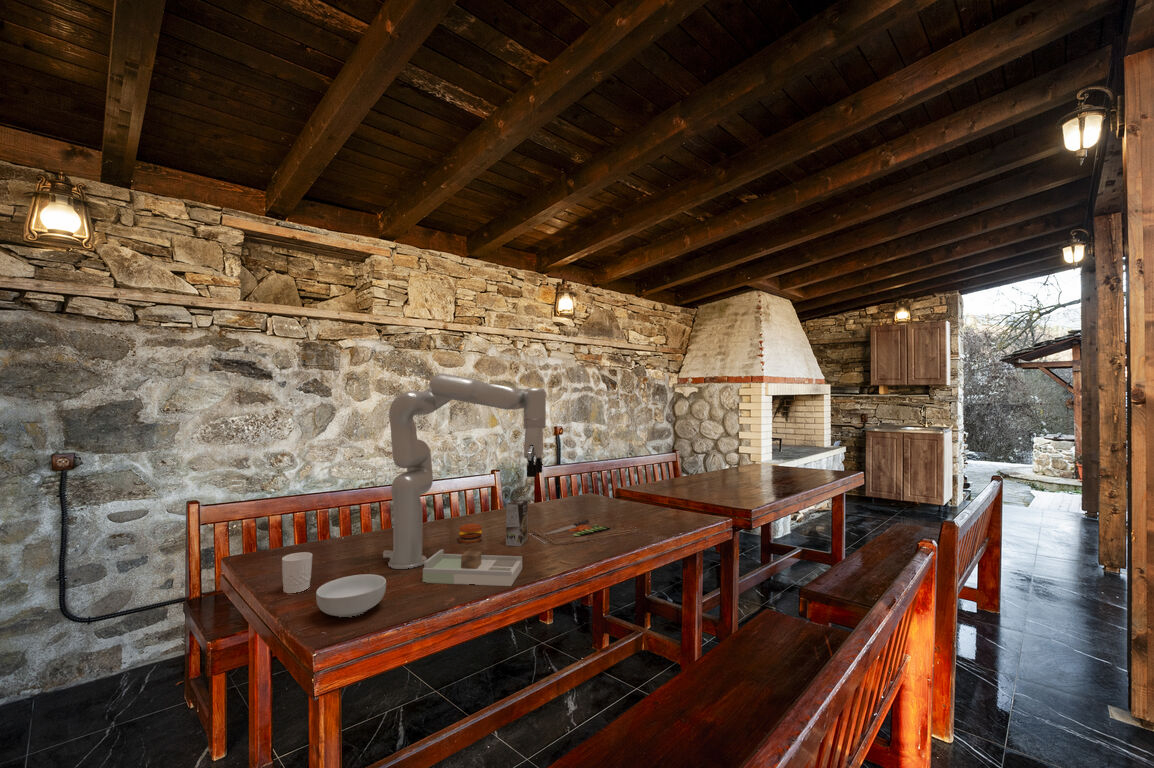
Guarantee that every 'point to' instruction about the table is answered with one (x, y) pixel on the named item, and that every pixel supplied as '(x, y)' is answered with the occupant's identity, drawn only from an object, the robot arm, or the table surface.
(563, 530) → the chopping board
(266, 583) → the table surface
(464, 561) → the walnut block
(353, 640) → the table surface
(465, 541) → the hamburger
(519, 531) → the coffee box
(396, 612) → the table surface
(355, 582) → the cereal bowl
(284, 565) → the white cup
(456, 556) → the tray
